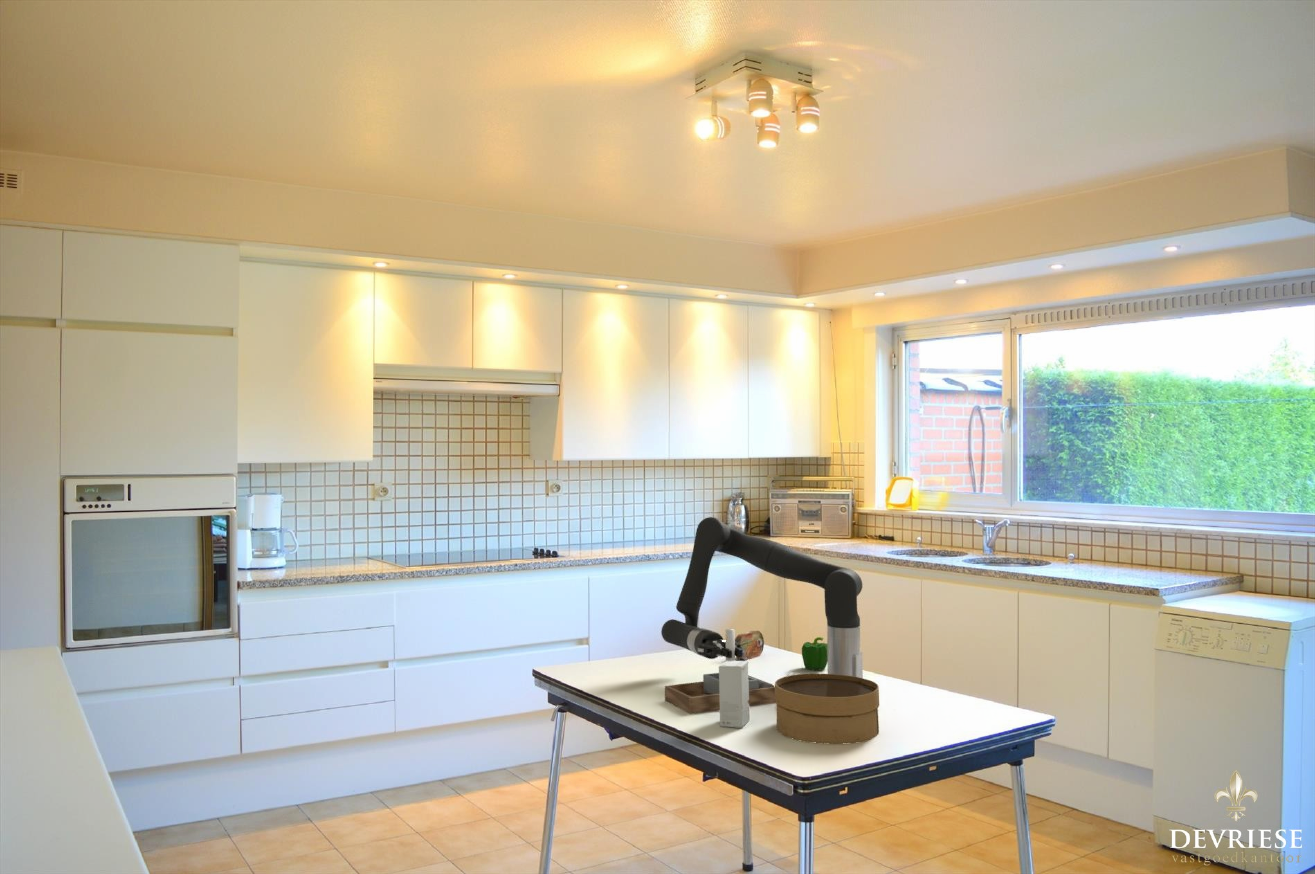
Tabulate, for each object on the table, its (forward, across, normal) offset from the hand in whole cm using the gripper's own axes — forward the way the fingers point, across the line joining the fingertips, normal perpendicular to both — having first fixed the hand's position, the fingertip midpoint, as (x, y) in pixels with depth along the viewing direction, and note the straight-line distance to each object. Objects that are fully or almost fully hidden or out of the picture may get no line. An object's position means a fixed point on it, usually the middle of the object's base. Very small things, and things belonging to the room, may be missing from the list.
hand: (735, 653), depth 262 cm
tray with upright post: (-3, 0, +12) cm, 12 cm away
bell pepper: (-25, +42, +13) cm, 51 cm away
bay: (-3, -3, +13) cm, 14 cm away
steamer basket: (+32, +6, +13) cm, 35 cm away
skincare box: (+17, -11, +13) cm, 24 cm away
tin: (-49, +33, +13) cm, 61 cm away
